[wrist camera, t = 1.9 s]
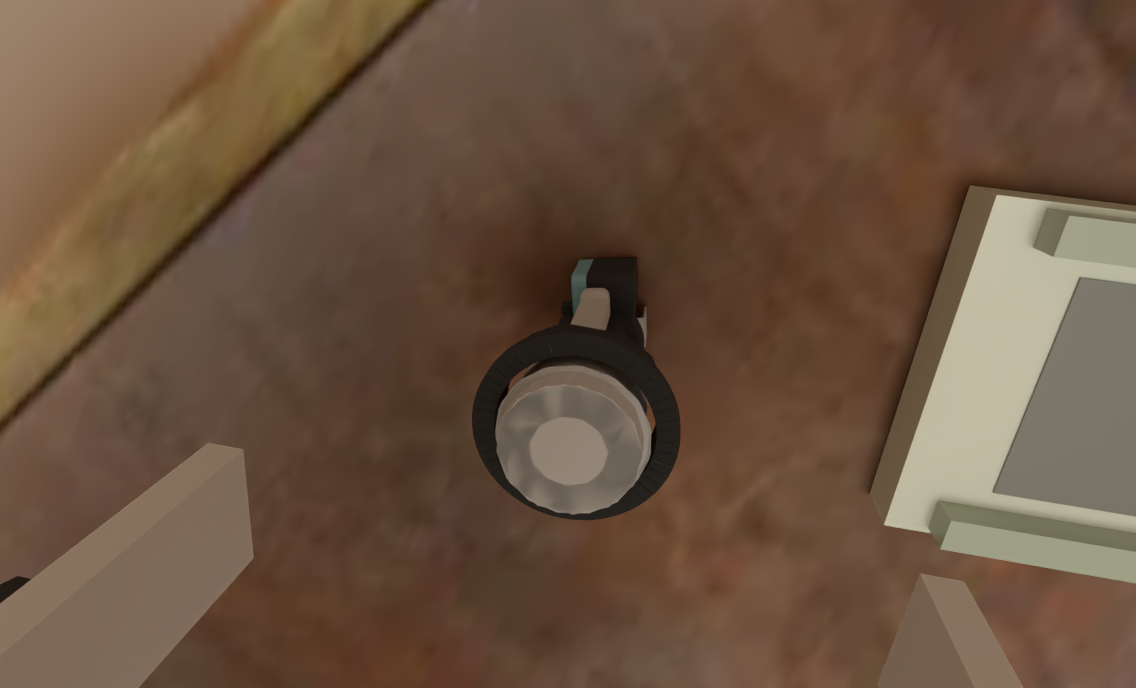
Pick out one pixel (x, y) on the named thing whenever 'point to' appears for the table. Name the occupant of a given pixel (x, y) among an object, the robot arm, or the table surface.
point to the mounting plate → (1024, 390)
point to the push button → (581, 405)
